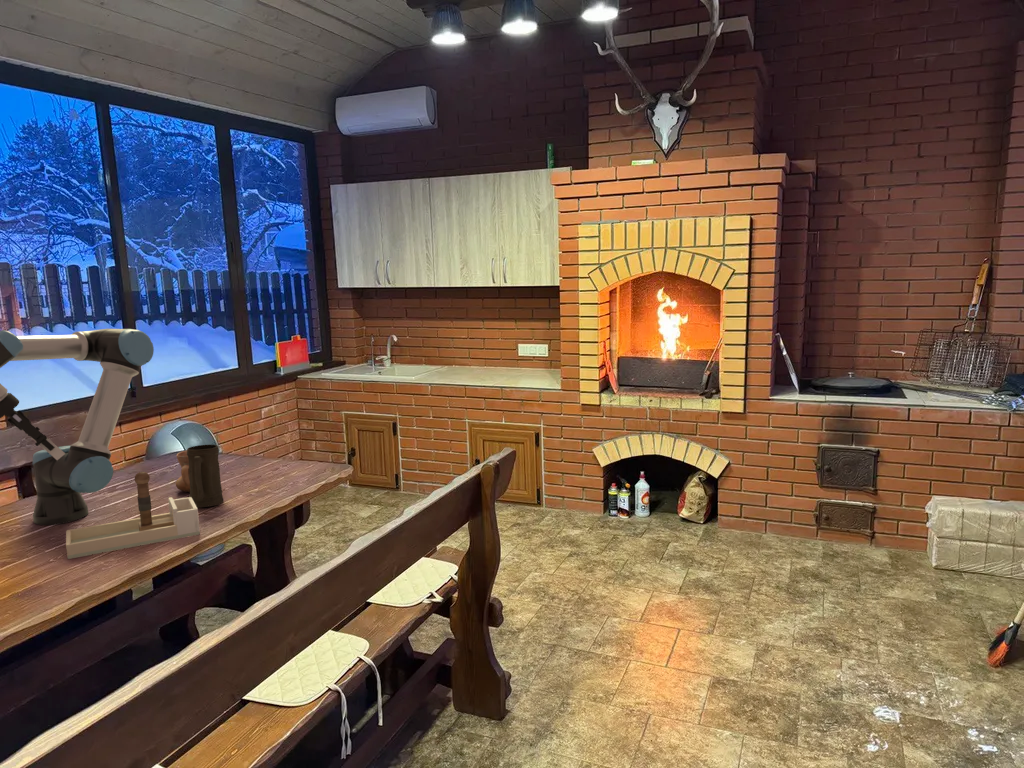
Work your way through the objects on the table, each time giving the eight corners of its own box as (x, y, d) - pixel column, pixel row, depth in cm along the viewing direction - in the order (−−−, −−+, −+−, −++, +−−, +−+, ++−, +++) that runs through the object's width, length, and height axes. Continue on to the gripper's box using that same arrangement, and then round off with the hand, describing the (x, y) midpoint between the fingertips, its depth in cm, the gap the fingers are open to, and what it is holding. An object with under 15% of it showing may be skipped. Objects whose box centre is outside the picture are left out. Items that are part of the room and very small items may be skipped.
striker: (139, 531, 214) (133, 471, 211) (175, 524, 219) (170, 465, 216) (140, 536, 210) (134, 475, 207) (177, 529, 215) (172, 469, 212)
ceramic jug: (191, 482, 268) (188, 446, 266) (228, 483, 267) (225, 446, 265) (164, 497, 251) (160, 458, 248) (203, 498, 249) (200, 459, 247)
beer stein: (190, 501, 246) (185, 444, 243) (224, 497, 250) (219, 441, 247) (187, 514, 232) (182, 455, 229) (223, 510, 236) (218, 452, 233)
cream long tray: (68, 543, 209) (64, 513, 207) (193, 521, 226) (190, 493, 225) (67, 559, 197) (64, 528, 195) (199, 534, 214) (197, 505, 213)
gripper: (-21, 405, 205) (37, 455, 215) (-11, 415, 186) (53, 469, 197) (3, 387, 208) (59, 438, 219) (15, 395, 190) (76, 450, 200)
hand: (56, 453), depth 208 cm, fingers open, 13 cm apart
